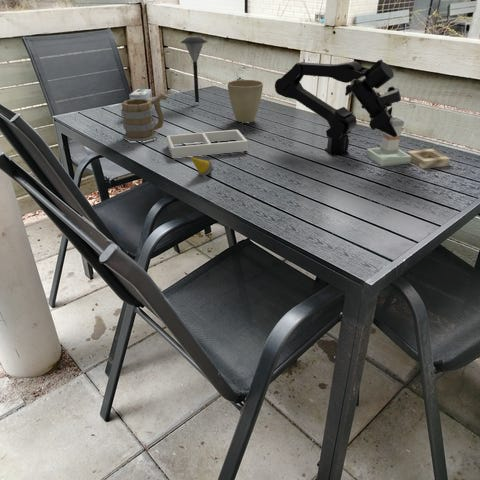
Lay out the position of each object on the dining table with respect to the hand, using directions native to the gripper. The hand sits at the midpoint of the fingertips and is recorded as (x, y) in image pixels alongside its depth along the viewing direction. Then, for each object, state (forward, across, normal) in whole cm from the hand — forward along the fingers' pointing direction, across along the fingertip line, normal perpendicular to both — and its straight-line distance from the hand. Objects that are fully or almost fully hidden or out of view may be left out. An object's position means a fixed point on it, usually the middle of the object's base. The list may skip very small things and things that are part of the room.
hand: (396, 133), depth 145 cm
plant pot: (-37, +28, +51) cm, 69 cm away
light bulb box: (-70, +22, +84) cm, 111 cm away
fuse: (+4, 0, +6) cm, 7 cm away
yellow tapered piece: (-32, -33, +46) cm, 65 cm away
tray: (+6, 0, +7) cm, 9 cm away
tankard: (-58, -3, +72) cm, 92 cm away
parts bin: (-39, -10, +52) cm, 66 cm away
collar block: (+14, +2, -2) cm, 15 cm away
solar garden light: (-58, +47, +73) cm, 105 cm away
